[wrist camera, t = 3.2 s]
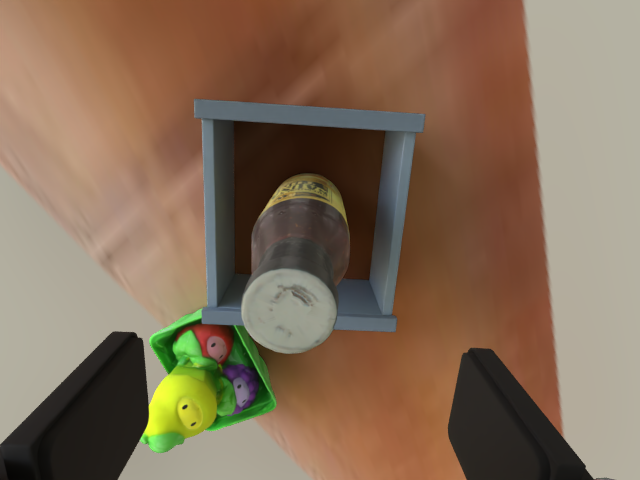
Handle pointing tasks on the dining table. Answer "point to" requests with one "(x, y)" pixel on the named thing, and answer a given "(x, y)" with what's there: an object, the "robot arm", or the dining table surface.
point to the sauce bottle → (297, 265)
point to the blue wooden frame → (378, 292)
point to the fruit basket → (205, 381)
